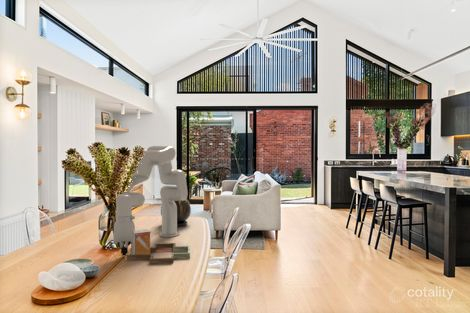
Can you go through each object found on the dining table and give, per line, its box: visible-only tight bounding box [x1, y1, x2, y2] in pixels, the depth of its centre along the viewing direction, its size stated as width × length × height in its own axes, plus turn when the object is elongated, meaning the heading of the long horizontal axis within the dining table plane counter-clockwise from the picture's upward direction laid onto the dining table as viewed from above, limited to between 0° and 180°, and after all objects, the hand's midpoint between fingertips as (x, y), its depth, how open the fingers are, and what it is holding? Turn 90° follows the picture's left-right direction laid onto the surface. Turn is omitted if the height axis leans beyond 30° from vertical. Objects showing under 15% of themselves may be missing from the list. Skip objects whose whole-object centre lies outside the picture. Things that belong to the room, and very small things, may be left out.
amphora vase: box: [160, 198, 192, 228], centre depth 243 cm, size 22×22×28 cm
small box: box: [130, 228, 151, 255], centre depth 172 cm, size 8×6×13 cm
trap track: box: [125, 242, 191, 265], centre depth 173 cm, size 26×31×2 cm
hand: (124, 254), depth 171 cm, fingers closed
